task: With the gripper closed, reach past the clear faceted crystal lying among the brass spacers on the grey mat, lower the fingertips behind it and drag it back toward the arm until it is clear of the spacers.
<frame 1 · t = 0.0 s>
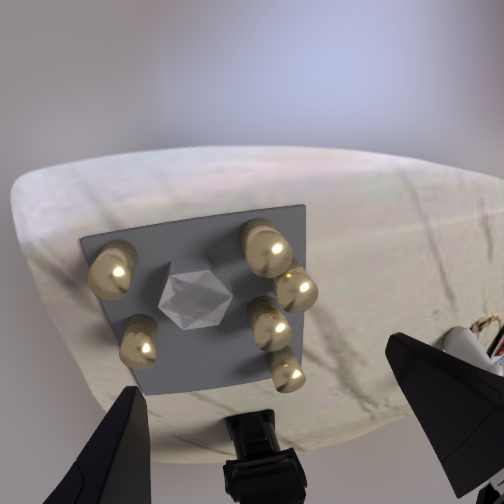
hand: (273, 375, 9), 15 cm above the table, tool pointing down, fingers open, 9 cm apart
clear faceted crystal: (194, 285, 23), resting on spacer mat
salt shaker: (450, 335, 37), on the table
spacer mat: (207, 319, 25), on the table
brass spacers: (214, 329, 22), on the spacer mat, point 2 cm above the table
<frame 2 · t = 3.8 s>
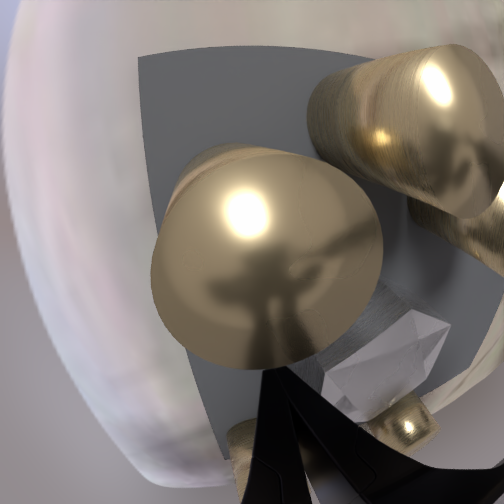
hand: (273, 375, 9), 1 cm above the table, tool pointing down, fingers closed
clear faceted crystal: (356, 335, 10), resting on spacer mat, touching gripper
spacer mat: (414, 299, 11), on the table
brass spacers: (441, 327, 8), on the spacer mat
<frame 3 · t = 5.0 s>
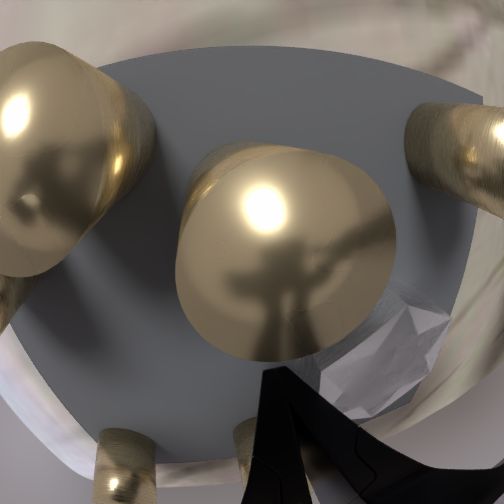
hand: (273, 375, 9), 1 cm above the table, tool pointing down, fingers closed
clear faceted crystal: (356, 331, 10), point 1 cm above the table, touching gripper
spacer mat: (267, 335, 10), on the table
brass spacers: (261, 383, 7), on the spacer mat, point 2 cm above the table
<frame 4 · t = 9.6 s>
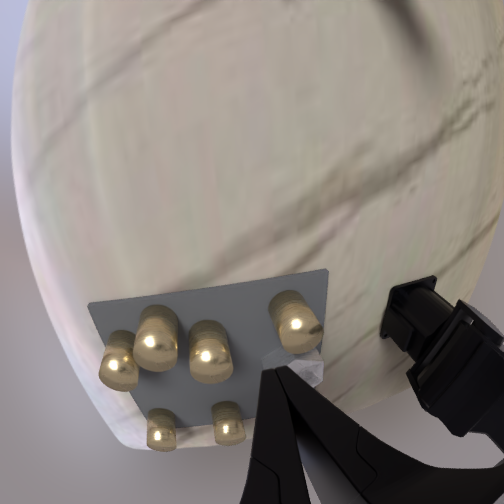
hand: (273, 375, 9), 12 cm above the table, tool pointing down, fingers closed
clear faceted crystal: (289, 362, 25), resting on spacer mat
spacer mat: (221, 369, 24), on the table
brass spacers: (215, 387, 22), on the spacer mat, point 2 cm above the table
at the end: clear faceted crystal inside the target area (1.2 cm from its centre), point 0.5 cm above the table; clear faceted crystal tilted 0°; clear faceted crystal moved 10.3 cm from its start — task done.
